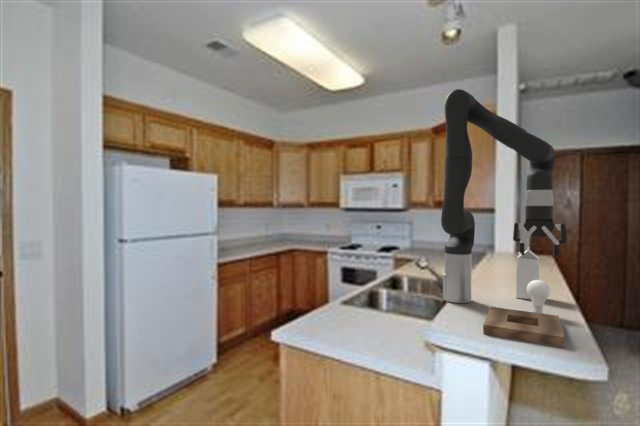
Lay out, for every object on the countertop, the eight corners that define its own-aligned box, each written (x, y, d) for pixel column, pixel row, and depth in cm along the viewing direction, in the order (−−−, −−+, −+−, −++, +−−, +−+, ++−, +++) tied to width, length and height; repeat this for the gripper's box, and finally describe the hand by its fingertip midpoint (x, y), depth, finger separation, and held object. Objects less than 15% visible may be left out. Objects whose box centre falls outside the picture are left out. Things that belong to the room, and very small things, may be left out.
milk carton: (538, 296, 136) (539, 247, 135) (538, 301, 130) (539, 248, 129) (517, 294, 140) (518, 245, 139) (516, 298, 134) (516, 247, 133)
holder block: (483, 333, 96) (483, 324, 96) (490, 314, 113) (490, 306, 113) (564, 347, 87) (564, 337, 87) (558, 324, 104) (558, 315, 104)
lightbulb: (542, 318, 109) (542, 282, 109) (522, 313, 115) (522, 279, 115) (554, 315, 112) (554, 280, 112) (534, 310, 118) (534, 277, 117)
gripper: (513, 204, 113) (512, 255, 113) (567, 204, 106) (567, 259, 106) (514, 204, 120) (513, 253, 120) (565, 204, 112) (564, 256, 113)
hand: (538, 255), depth 113 cm, fingers open, 8 cm apart
